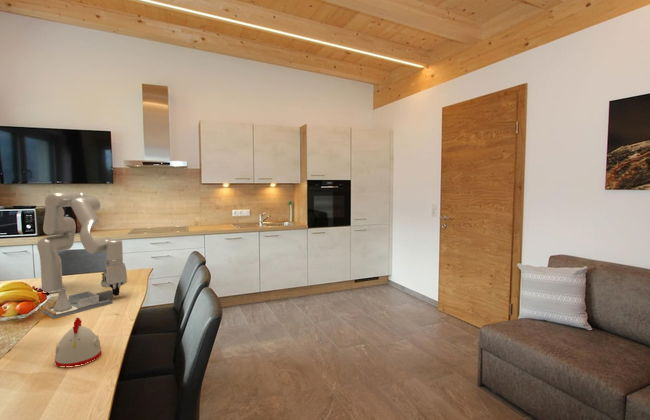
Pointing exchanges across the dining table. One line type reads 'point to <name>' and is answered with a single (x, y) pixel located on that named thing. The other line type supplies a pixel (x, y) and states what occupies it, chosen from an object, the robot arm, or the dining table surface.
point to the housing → (89, 298)
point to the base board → (73, 309)
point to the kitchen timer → (77, 346)
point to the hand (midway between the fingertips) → (116, 295)
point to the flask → (62, 301)
